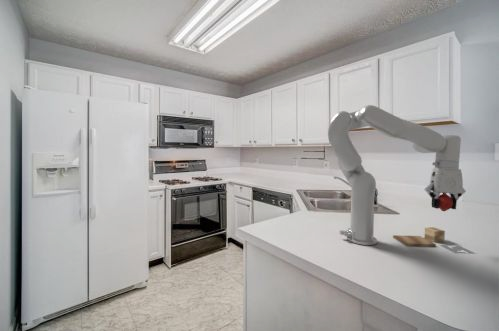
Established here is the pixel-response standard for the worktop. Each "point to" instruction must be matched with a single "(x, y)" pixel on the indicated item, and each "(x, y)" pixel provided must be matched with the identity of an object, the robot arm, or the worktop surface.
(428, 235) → the oak block
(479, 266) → the worktop surface
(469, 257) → the worktop surface
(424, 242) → the board
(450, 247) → the tile
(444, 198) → the onion
